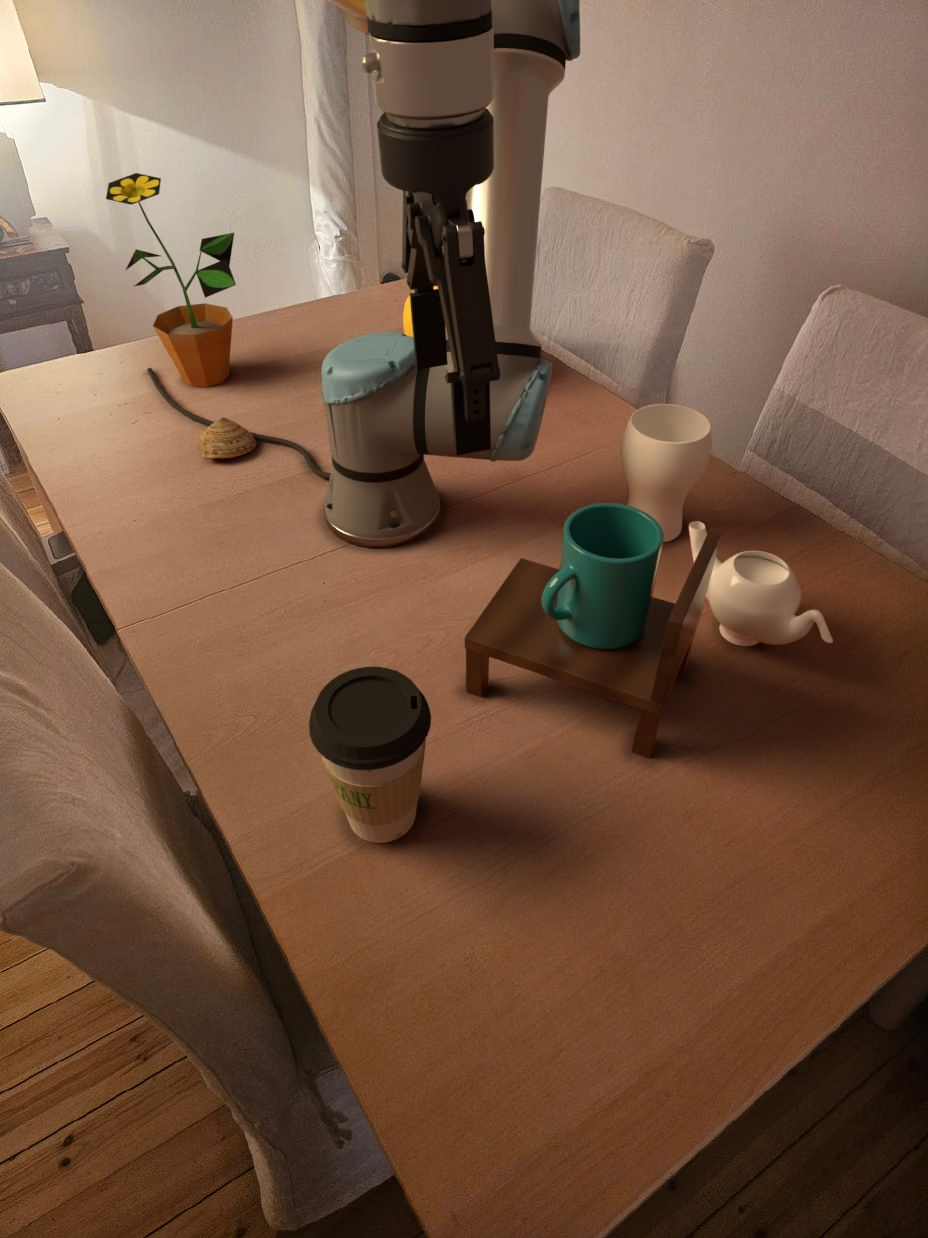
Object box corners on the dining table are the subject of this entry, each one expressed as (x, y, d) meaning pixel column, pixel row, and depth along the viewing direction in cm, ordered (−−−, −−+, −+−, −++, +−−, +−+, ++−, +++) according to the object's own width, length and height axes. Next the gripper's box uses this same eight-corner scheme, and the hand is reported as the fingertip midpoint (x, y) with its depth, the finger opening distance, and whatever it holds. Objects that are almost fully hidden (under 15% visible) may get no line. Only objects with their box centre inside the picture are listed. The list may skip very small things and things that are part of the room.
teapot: (783, 704, 84) (808, 639, 78) (648, 598, 97) (660, 535, 90) (843, 666, 88) (871, 602, 82) (705, 569, 101) (721, 507, 94)
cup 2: (692, 555, 103) (717, 450, 93) (607, 545, 104) (622, 440, 94) (692, 507, 110) (715, 405, 100) (613, 498, 112) (627, 397, 102)
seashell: (181, 447, 118) (206, 404, 121) (198, 470, 123) (222, 428, 126) (230, 458, 116) (254, 413, 119) (245, 481, 121) (268, 438, 124)
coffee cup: (330, 773, 78) (309, 664, 68) (432, 766, 79) (427, 656, 69) (326, 865, 71) (301, 759, 61) (439, 857, 72) (433, 750, 62)
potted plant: (126, 384, 137) (67, 189, 117) (211, 344, 148) (170, 159, 128) (200, 414, 129) (149, 211, 109) (283, 370, 141) (252, 177, 120)
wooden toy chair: (464, 692, 86) (463, 557, 74) (517, 611, 95) (524, 480, 83) (649, 759, 79) (682, 624, 67) (687, 666, 89) (722, 531, 76)
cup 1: (513, 622, 82) (517, 531, 75) (606, 580, 87) (620, 491, 79) (567, 678, 76) (578, 586, 69) (665, 630, 81) (685, 540, 73)
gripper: (345, 70, 60) (377, 342, 75) (420, 181, 43) (442, 502, 58) (444, 60, 61) (456, 329, 77) (555, 163, 44) (542, 483, 60)
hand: (450, 405), depth 68 cm, fingers open, 13 cm apart
